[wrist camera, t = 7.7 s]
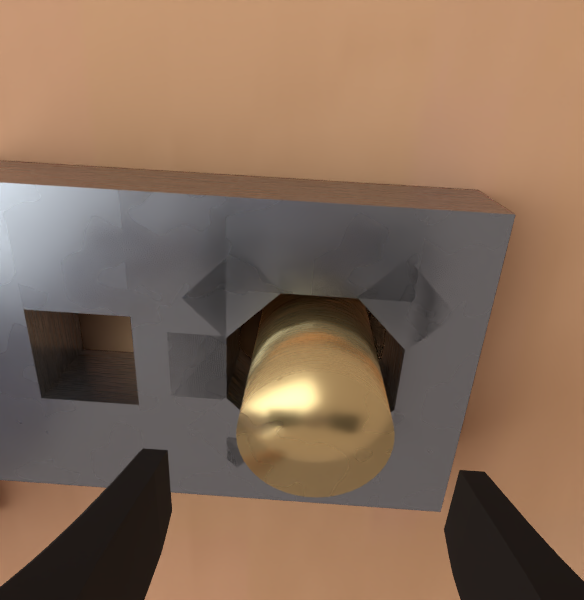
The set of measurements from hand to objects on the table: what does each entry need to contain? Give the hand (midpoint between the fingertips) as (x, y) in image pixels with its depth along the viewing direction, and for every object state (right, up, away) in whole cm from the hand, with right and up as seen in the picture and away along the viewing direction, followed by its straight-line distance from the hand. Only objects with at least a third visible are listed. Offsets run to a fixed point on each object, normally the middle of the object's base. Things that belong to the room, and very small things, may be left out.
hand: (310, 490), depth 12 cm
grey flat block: (-3, +4, +8) cm, 9 cm away
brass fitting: (0, +4, +8) cm, 9 cm away
